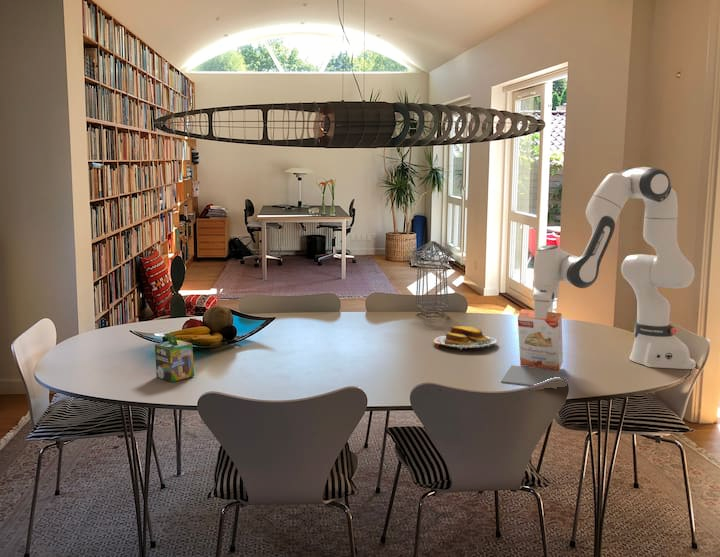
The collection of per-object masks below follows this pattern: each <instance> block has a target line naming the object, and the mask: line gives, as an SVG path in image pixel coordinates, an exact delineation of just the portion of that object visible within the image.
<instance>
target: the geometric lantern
mask: <svg viewBox="0 0 720 557" xmlns="http://www.w3.org/2000/svg"><path fill="white" fill-rule="evenodd" d="M434 249H435V250H434ZM419 250H420V251H419ZM429 250H430V252H429ZM439 252H441V254H440V253H439ZM411 253H412V254H413V256H414V258H415V259H416V261H417V264H419V262H420V266H417V277H416V296H415V305H416V306H417V307H418V308H419V309H420V310H421V311H420V312H421V314H422V315H423V316H425V317H430V318H431V317H433V315H431V313H437V315H434V317H443V316H444V311H445V309H447V308H448V307H449V294H448V293H449V292H448V276H447V271H448V269H447V268H446V267H445V266H444V265H443V264H444V263H446V262H447V261H448V260H449V257H450V256H451V255H454V253H453V252H452V251H450V250H449V249H447V248H446V247H444V246H443V245H441V244H440V243H438V242H437V241H436V240H431V241H428V242H427V243H425V244H423V245H422V246H420V247H418V248H417V249H415V250H413V251H412V252H411ZM435 256H438V257H439V259H438V260H435ZM422 258H423V261H422V260H421V259H422ZM432 258H433V259H432ZM426 260H430V261H431V263H430V264H429V265H428V267H426V268H425V267H424V263H425V261H426ZM436 262H439V263H440V267H438V266H437V265H436V264H435V263H436ZM432 264H433V265H434V266H432V267H431V265H432ZM428 269H434V270H429V272H435V299H434V300H435V301H429V290H428V289H429V288H428V287H429V285H428V279H429V278H428ZM438 272H439V291H440V292H439V293H440V298H439V299H440V301H437V297H438V296H437V295H438ZM441 272H442V274H443V275H442V278H443V280H442V278H441ZM425 274H426V278H425ZM421 278H422V279H421ZM425 279H426V302H424V293H425V292H424V290H425V289H424V287H425ZM421 280H422V289H421ZM442 281H443V294H444V302H443V300H442V299H443V298H442ZM421 290H422V292H421ZM420 294H422V295H421V302H420ZM424 304H426V306H424ZM429 304H435V305H434V306H429ZM437 304H439V305H438V306H437ZM441 305H442V306H441ZM443 305H444V306H443ZM441 308H443V309H441ZM430 310H432V311H430Z"/></svg>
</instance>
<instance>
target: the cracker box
mask: <svg viewBox="0 0 720 557" xmlns="http://www.w3.org/2000/svg"><path fill="white" fill-rule="evenodd" d="M517 329H518V347H519V348H518V350H519V363H520V365H519V366H522V367H531V368H540V369H549V370H558V371H561V367H562V365H563V362H564V360H563V359H564V357H563V356H564V352H563V320H562V313H561V312H553V311H552V312H548V314H547V318H545V319H539V318H535V315H534V309H525V308H522V309H521V310H520V312H519V314H518V315H517Z"/></svg>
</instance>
